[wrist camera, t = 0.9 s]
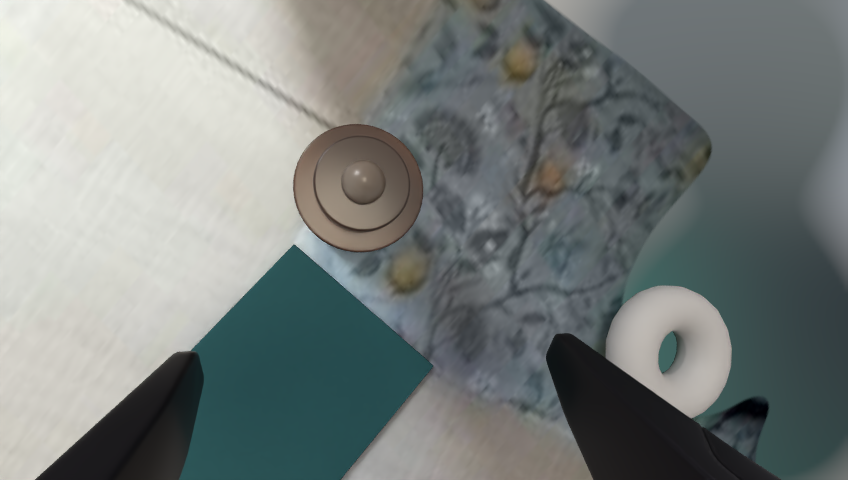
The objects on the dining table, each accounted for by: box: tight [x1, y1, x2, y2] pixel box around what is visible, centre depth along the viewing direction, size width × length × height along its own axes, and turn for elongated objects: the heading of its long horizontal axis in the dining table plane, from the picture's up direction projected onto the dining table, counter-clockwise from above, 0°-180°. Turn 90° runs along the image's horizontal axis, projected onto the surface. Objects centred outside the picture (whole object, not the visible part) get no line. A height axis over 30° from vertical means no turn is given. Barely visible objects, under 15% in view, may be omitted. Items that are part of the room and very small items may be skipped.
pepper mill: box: [293, 124, 423, 252], centre depth 18 cm, size 5×5×11 cm
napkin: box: [179, 245, 433, 480], centre depth 22 cm, size 14×12×1 cm
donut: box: [605, 286, 731, 418], centre depth 27 cm, size 10×4×10 cm
